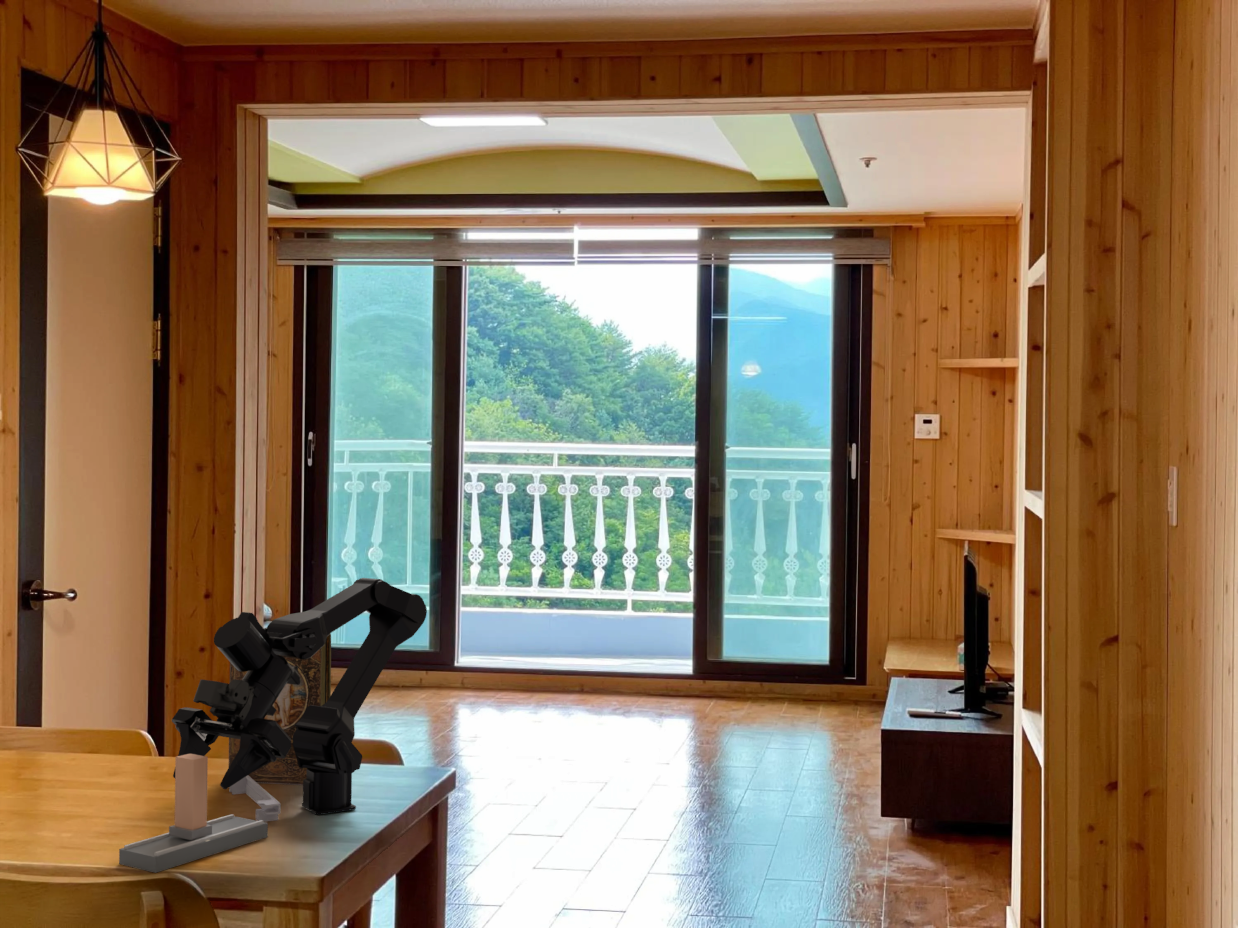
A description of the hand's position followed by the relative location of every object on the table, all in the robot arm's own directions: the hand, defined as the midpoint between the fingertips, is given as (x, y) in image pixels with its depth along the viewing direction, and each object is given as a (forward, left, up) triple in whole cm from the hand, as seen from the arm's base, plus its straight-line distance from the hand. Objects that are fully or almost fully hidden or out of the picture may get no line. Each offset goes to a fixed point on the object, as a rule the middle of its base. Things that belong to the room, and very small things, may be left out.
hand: (198, 782), depth 186 cm
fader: (+1, +1, -7) cm, 7 cm away
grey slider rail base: (0, 0, -9) cm, 9 cm away
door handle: (-14, -19, -10) cm, 25 cm away
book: (-24, -33, -9) cm, 42 cm away
